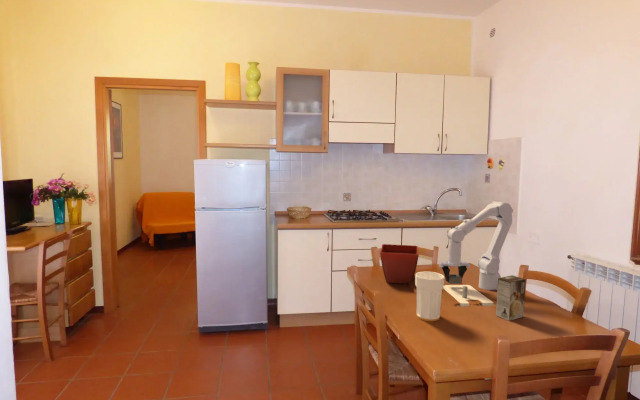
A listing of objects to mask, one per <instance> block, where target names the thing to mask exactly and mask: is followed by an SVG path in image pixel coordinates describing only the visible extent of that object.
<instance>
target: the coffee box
mask: <svg viewBox="0 0 640 400" xmlns="http://www.w3.org/2000/svg"><path fill="white" fill-rule="evenodd" d="M526 280H527V279H526V278H523V277H520V276H516V275H508V276H503V277H501V278H498V290H496V291H497V294H496V311H495V314H496V315H495V316H496V317H499V318H502V319H503V320H507V321H509V322H511V321H513V320H517V319H521V318H524V316H525V299H526V297H525V296H526Z"/></svg>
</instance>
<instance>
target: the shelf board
mask: <svg viewBox="0 0 640 400" xmlns="http://www.w3.org/2000/svg"><path fill="white" fill-rule="evenodd" d="M442 290H445V291H446V292H447V293H448V294H449V296H451V297H452V298H454V299H455V300H456V301H457V302H458V303H457V305H458V306H459V307H460V308H462V307H463V308H465V307H468V308H469V307H470V302H469V301H479V303H478V304H479V305H480V306H481V307H494V306H495V305H494V301H492V300H491V299H489V298H488V297H486V296H485V295H484V294H482V293H481V292H480V291H478V290H477V289H475V288H474V287H473V286H472V285H470V284H448V285H447V284H445V285H444V287H443V289H442Z"/></svg>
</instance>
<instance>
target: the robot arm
mask: <svg viewBox="0 0 640 400" xmlns="http://www.w3.org/2000/svg"><path fill="white" fill-rule="evenodd" d="M513 213H514V209H513V207H512V205H511V204H509V203H507V202H503V201H499V200H494V201H491V203H489V204H487V205H486V206H485V208H483V209H482V210H481V211H480V212H479V213H477V214H476V215H475V216H474V217H472V218H471V219H469V218H467V219H463V221H462V223H460V224H459V225H456V226H454V227H455V228H451V229H449V230H448V232H447V233H446V236H447V238H448V259H447V261H442V262H438V267H439V268H441V269H442V271H443V273H444V275H443V276H444V280H445V279H446V280H445V282H447V283H448V282H449V274H450V272H451V269H450V268H451V267H453V268H454V267H455V268H457V269H458V270H457V271H458V273H457V274H458V275H459V276H461V277H462V279H463V277H464V276H465V273H466V272H467V270H468V268H470V262H469V261H462V258H461V257H462V242H463V241H464V239H465V237H466V236H467V235H468V234H471V233H472V232H473V231H474V230H475V229H476V228H477V225H479V224H480V223H481V222H482V221H485V220H486V219H488V218H490V217H496V219H497V221H498V224H497V225H496V228H495V230H494V233H493V235H492V238H491V240H490V242H489V244H488V245H489V246H488V247H487V250H486V251H485V252H484V253H482V255H481V257H480V258H479V259H478V261H477V267H478V268H479V276H478V277H479V278H478V288H479V289H482V290H487V291H493V290H495V291H497V290H498V278H502V277H501V274H500V273H499V270H500V266H499V265H500V262H501V261H500V257H499V255H500V252H501V251H502V248H503V246H504V244H505V241H506V239H507V236H508V233H509V231H510V229H511V226H512V224H513Z"/></svg>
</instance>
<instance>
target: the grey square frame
mask: <svg viewBox="0 0 640 400" xmlns="http://www.w3.org/2000/svg"><path fill="white" fill-rule="evenodd" d="M458 274H459V273H449V282H447V283H448V284H449V285H463V278H462V277H461V276H459V275H458ZM444 281H446V279H445V278H444Z"/></svg>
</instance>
